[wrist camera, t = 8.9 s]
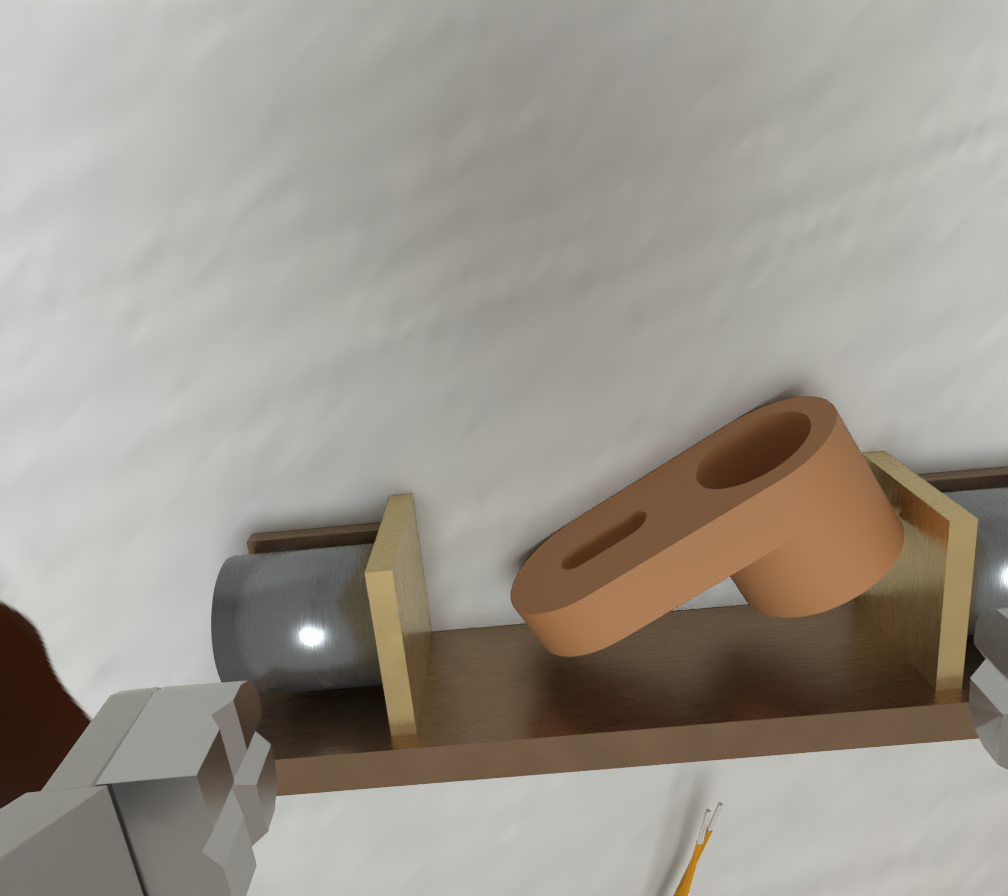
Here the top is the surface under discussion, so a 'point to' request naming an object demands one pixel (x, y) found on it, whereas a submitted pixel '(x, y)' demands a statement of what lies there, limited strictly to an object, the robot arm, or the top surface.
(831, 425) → the tan piece
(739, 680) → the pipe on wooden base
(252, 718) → the robot arm
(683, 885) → the electrical component
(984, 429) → the top surface
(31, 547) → the top surface
